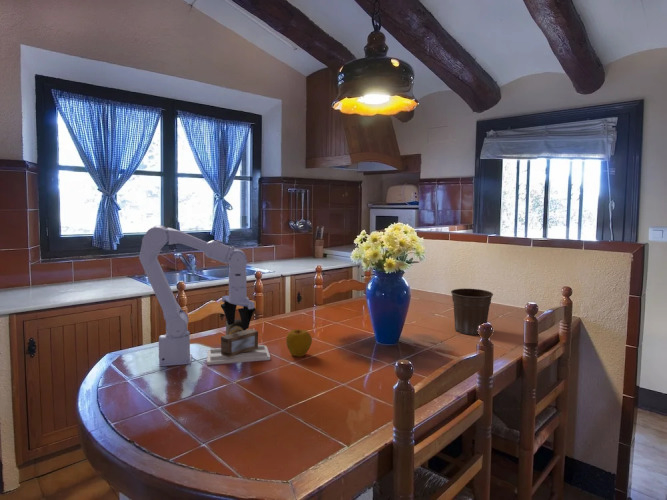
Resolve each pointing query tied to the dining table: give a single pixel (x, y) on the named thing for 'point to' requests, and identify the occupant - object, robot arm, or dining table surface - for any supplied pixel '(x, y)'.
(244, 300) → the robot arm
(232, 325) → the condiment
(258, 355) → the notch ledge
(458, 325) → the plant pot
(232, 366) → the dining table surface
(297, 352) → the apple
